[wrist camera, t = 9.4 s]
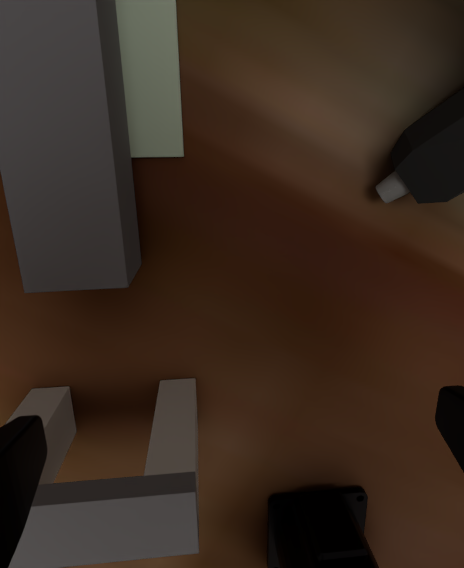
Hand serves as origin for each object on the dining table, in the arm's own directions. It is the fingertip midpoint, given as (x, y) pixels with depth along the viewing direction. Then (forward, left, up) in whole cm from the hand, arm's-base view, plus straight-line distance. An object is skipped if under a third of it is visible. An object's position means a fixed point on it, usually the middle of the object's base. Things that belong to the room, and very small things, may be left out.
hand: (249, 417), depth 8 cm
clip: (-7, +6, -12) cm, 15 cm away
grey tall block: (+8, +6, -12) cm, 15 cm away
